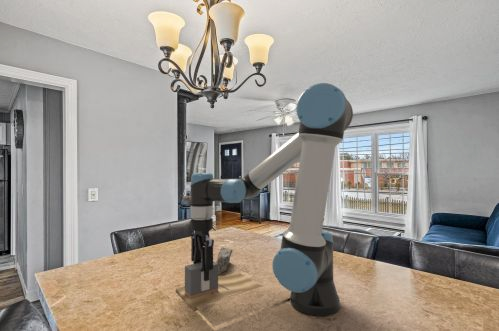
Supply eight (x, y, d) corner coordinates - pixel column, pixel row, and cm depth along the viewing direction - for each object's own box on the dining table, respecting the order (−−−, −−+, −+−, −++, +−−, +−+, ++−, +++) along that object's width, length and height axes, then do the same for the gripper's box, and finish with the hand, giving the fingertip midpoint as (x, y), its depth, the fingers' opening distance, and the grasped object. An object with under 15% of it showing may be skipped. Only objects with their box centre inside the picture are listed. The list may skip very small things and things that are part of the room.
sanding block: (211, 285, 94) (211, 260, 94) (218, 290, 89) (218, 264, 90) (184, 292, 88) (184, 265, 88) (190, 298, 84) (190, 270, 84)
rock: (223, 278, 102) (226, 251, 104) (204, 275, 104) (206, 249, 106) (235, 271, 117) (237, 247, 118) (218, 268, 119) (220, 245, 121)
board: (262, 288, 93) (262, 285, 93) (194, 310, 78) (194, 307, 78) (238, 274, 107) (238, 271, 107) (175, 291, 92) (175, 288, 92)
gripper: (224, 220, 84) (224, 293, 83) (200, 213, 99) (200, 275, 98) (203, 223, 80) (202, 300, 79) (181, 215, 95) (181, 280, 94)
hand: (201, 286), depth 89 cm, fingers closed on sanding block, 5 cm apart
